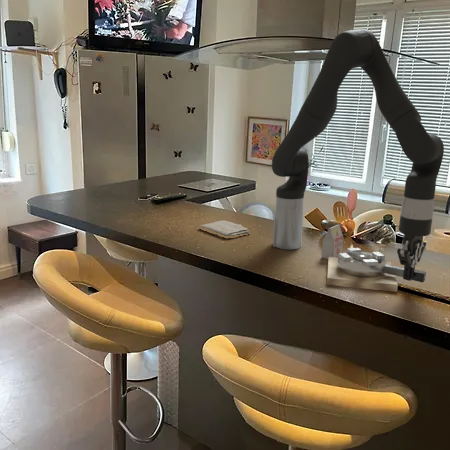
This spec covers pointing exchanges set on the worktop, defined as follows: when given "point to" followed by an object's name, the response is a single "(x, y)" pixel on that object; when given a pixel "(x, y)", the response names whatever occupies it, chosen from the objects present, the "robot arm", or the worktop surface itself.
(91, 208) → the worktop surface
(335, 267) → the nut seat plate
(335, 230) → the white carton
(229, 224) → the washcloth
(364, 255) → the grey frying pan
